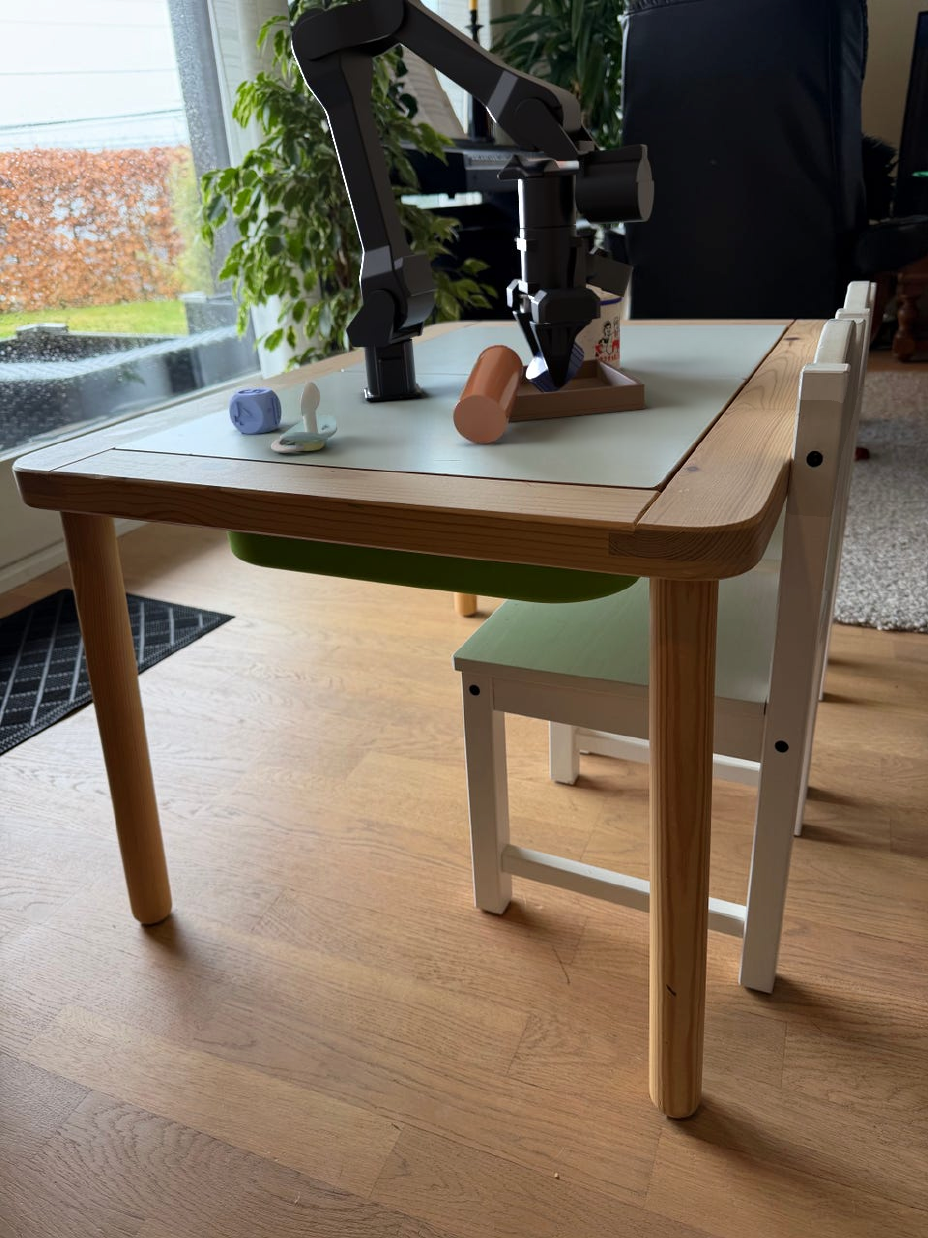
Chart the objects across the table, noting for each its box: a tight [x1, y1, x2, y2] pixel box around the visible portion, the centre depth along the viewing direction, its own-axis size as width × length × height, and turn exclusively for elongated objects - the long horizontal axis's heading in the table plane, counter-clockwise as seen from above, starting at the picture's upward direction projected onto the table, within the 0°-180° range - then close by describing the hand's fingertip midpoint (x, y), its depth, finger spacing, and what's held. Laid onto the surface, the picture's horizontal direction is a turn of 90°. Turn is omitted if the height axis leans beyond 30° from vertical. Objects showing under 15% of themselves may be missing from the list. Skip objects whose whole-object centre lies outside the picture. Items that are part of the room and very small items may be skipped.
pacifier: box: [270, 380, 338, 454], centre depth 90 cm, size 7×6×6 cm
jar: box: [452, 344, 524, 445], centre depth 90 cm, size 5×5×11 cm
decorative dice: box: [228, 387, 283, 435], centre depth 99 cm, size 4×4×4 cm
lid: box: [526, 342, 585, 393], centre depth 102 cm, size 6×6×3 cm
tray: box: [508, 359, 645, 423], centre depth 103 cm, size 17×15×2 cm
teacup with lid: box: [575, 284, 623, 370], centre depth 117 cm, size 12×9×12 cm
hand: (552, 381), depth 103 cm, fingers closed on lid, 6 cm apart
